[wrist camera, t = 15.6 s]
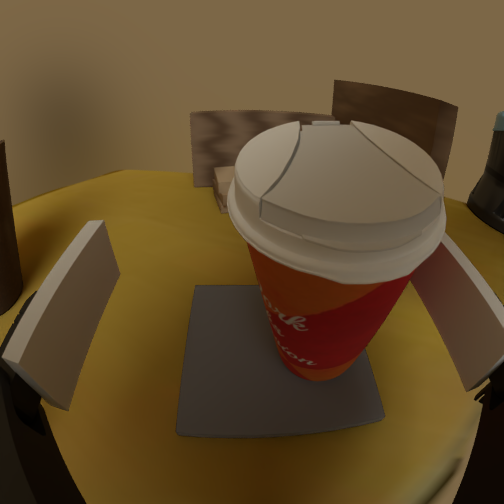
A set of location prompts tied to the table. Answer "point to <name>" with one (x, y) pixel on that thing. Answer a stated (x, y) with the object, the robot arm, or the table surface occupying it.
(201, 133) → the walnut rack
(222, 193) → the offcut stack
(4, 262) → the plant pot
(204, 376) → the rubber mat
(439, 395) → the table surface
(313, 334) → the paper cup
